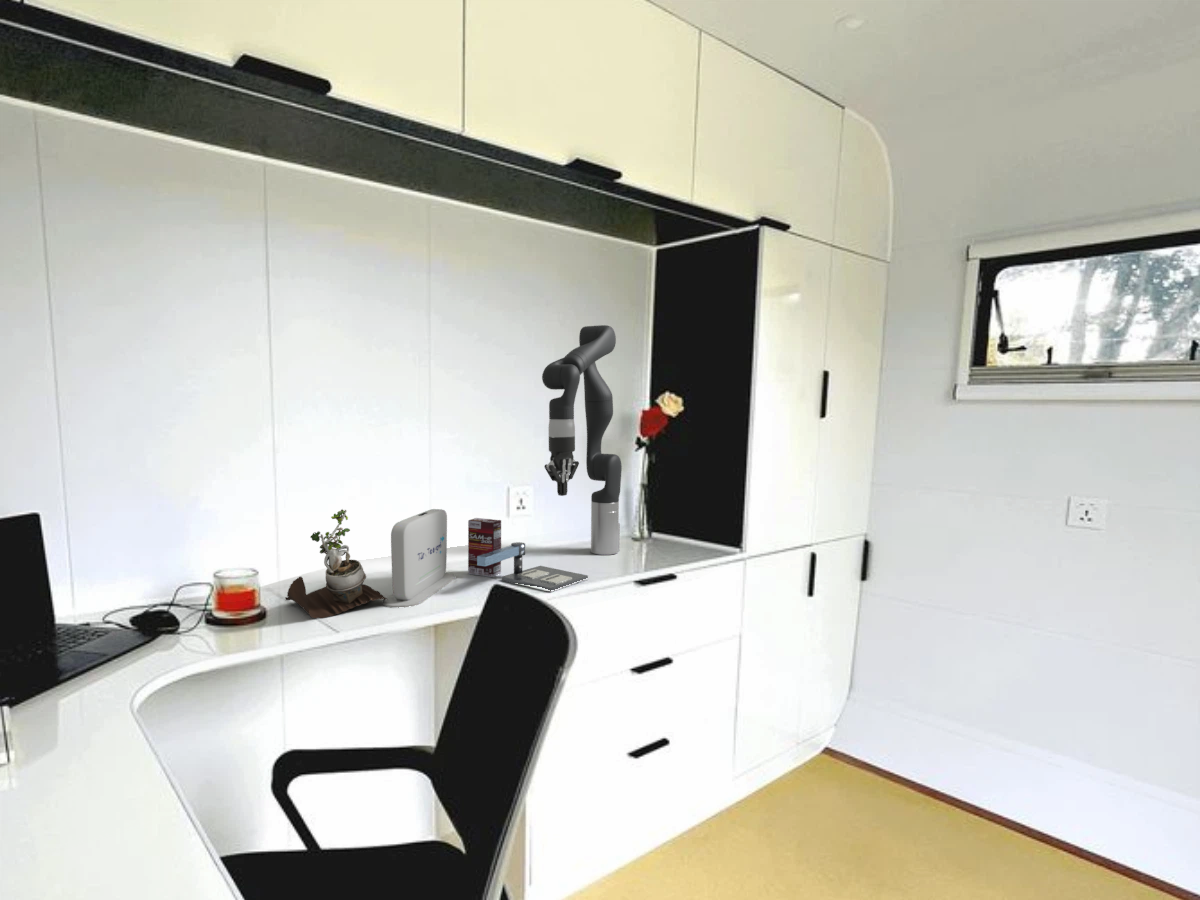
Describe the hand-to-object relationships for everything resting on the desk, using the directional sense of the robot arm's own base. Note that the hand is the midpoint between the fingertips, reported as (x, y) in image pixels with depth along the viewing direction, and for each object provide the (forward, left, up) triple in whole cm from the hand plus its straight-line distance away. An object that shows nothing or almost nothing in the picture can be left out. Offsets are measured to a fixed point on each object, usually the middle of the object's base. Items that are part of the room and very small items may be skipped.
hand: (562, 495), depth 182 cm
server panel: (+7, 0, -23) cm, 24 cm away
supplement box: (+13, -18, -24) cm, 32 cm away
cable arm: (+17, -7, -17) cm, 25 cm away
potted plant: (+56, -25, -23) cm, 65 cm away
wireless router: (+34, -19, -24) cm, 46 cm away
